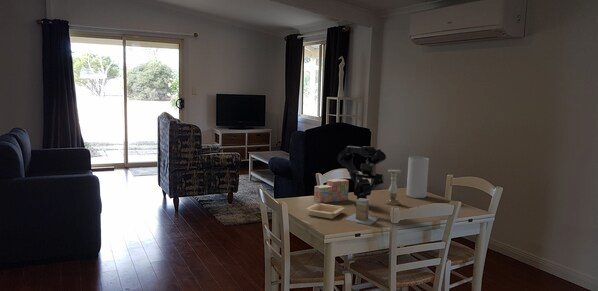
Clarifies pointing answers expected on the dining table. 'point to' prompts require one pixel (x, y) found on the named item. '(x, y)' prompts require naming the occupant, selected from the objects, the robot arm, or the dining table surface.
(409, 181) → the cylinder vase
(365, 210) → the grey rectangular block
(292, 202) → the dining table surface
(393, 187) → the candle holder
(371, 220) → the rubber mat
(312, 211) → the carton
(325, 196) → the stack of blocks
